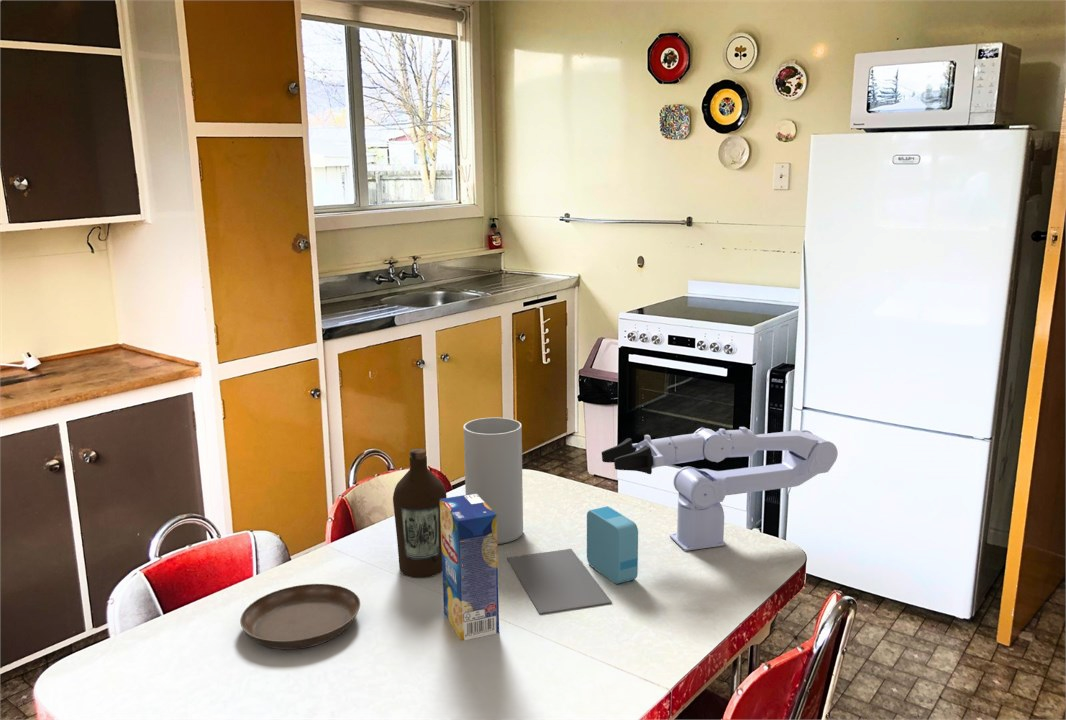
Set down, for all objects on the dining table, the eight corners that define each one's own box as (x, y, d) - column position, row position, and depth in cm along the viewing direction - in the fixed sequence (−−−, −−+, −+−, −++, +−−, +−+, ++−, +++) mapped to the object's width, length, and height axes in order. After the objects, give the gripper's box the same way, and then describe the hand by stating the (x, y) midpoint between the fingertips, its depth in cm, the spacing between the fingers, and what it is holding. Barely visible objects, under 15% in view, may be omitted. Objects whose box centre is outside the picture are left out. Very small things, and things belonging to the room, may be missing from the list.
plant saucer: (223, 623, 155) (221, 606, 154) (328, 587, 168) (327, 571, 167) (271, 672, 140) (269, 654, 139) (382, 629, 152) (381, 611, 152)
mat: (571, 550, 182) (571, 548, 182) (611, 603, 160) (612, 601, 160) (507, 558, 179) (507, 557, 179) (539, 614, 156) (539, 613, 156)
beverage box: (479, 604, 160) (476, 493, 155) (499, 633, 150) (496, 514, 145) (443, 611, 158) (439, 498, 153) (461, 641, 148) (458, 521, 143)
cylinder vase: (458, 528, 194) (455, 422, 189) (509, 518, 199) (507, 414, 194) (479, 550, 183) (476, 437, 178) (532, 539, 188) (531, 429, 183)
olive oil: (396, 558, 180) (391, 443, 174) (447, 554, 181) (443, 441, 176) (396, 581, 169) (389, 460, 164) (450, 577, 171) (445, 457, 165)
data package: (638, 581, 168) (638, 524, 166) (618, 587, 166) (619, 529, 164) (604, 558, 179) (605, 503, 176) (586, 563, 177) (586, 508, 174)
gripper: (655, 426, 186) (595, 435, 183) (682, 438, 172) (619, 447, 169) (657, 458, 187) (598, 467, 184) (685, 472, 173) (622, 482, 170)
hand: (608, 460), depth 176 cm, fingers open, 7 cm apart
